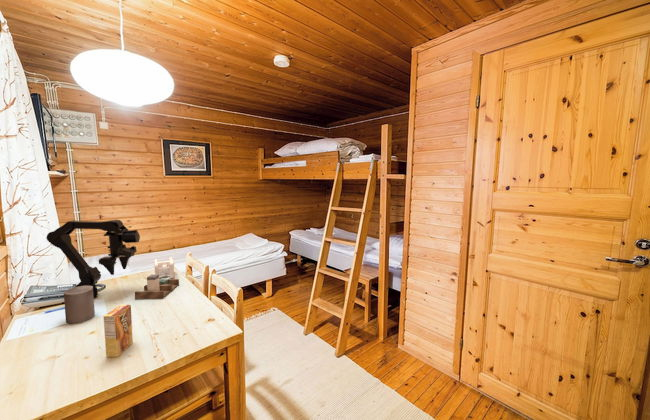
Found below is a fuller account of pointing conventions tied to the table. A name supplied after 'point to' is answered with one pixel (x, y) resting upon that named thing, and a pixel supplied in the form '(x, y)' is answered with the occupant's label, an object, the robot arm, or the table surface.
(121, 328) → the candy box
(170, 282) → the brown compartment tray
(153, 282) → the tan lidded canister
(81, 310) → the pillar candle
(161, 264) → the cable organizer
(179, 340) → the table surface
